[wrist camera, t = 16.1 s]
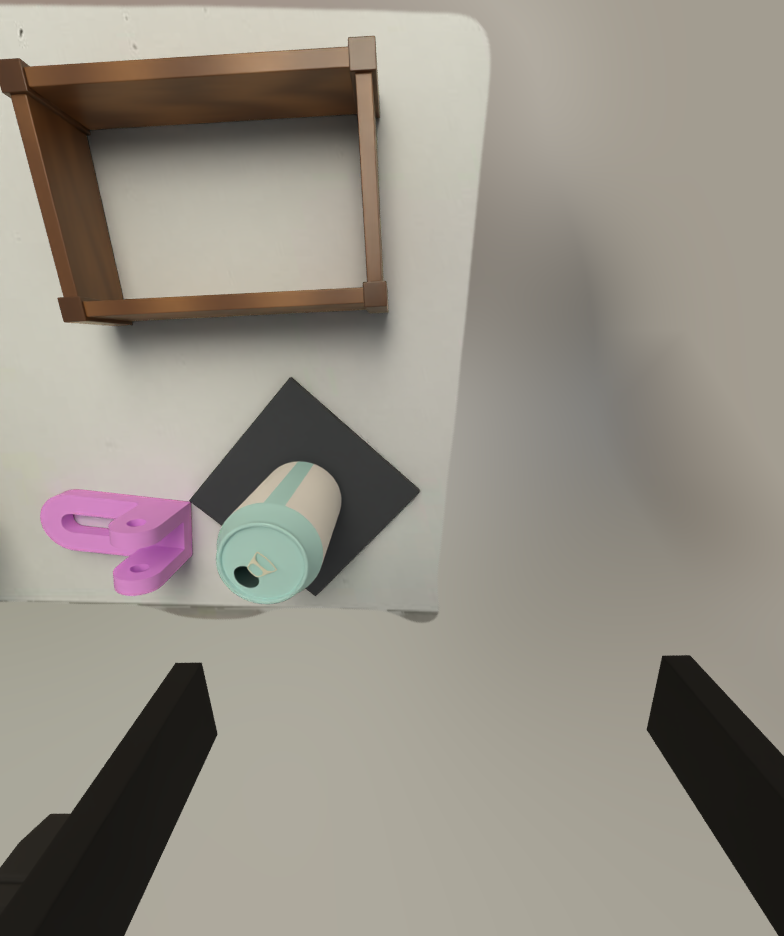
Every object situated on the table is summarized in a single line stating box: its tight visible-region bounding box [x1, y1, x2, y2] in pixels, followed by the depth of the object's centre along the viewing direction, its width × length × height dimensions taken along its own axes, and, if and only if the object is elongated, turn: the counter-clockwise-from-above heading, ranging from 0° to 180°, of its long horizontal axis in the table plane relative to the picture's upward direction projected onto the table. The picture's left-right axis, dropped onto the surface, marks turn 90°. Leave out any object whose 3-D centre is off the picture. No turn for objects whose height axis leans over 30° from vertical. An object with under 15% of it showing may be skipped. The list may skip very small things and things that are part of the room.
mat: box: [189, 377, 420, 596], centre depth 37 cm, size 15×15×1 cm
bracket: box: [40, 489, 192, 596], centre depth 34 cm, size 13×6×7 cm, turn 83°
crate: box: [0, 36, 389, 326], centre depth 28 cm, size 23×15×5 cm, turn 93°
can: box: [216, 461, 341, 604], centre depth 30 cm, size 7×7×12 cm
